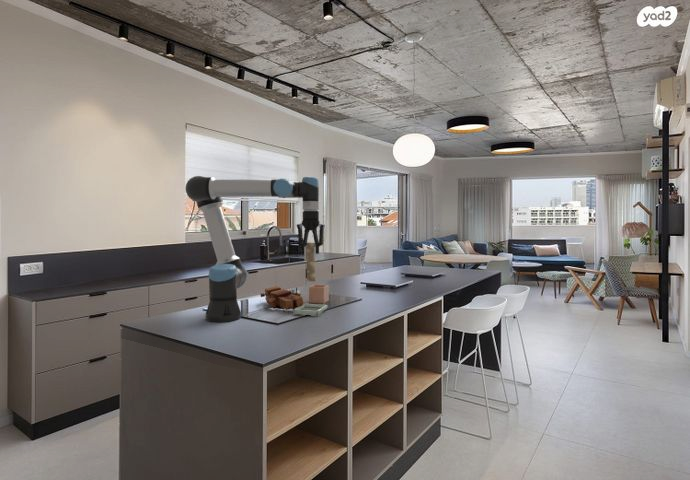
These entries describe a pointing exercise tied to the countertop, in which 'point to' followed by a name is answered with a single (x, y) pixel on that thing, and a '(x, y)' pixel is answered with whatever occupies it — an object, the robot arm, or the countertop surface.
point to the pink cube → (318, 293)
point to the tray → (310, 312)
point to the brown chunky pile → (282, 298)
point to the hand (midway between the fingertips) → (310, 260)
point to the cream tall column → (310, 262)
